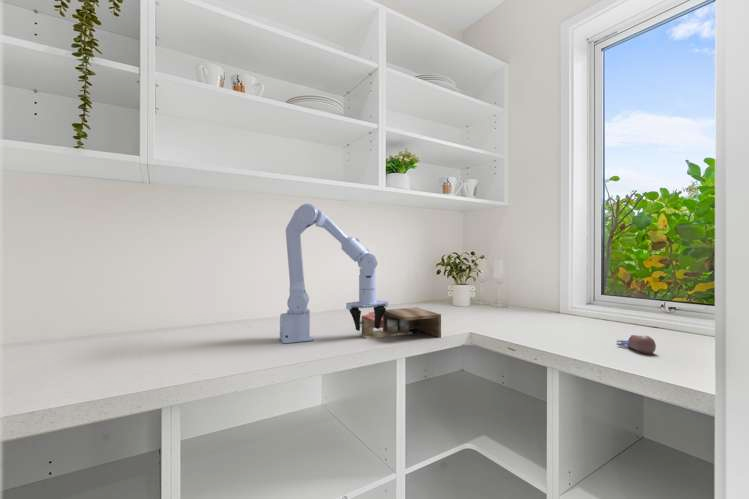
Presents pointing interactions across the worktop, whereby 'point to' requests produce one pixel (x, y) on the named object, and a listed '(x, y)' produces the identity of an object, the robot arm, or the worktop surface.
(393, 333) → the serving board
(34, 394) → the worktop surface
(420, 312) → the wooden crate block
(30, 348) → the worktop surface
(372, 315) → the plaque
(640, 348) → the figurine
